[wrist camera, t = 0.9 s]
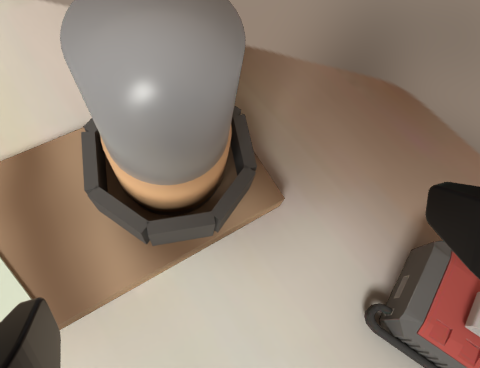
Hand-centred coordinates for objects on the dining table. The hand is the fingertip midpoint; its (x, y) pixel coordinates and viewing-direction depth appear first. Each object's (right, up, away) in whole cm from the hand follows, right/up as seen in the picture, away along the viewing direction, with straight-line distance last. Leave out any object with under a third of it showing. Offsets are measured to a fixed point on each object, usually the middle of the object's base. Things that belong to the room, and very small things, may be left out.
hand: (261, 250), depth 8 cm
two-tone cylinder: (-5, +2, +14) cm, 15 cm away
